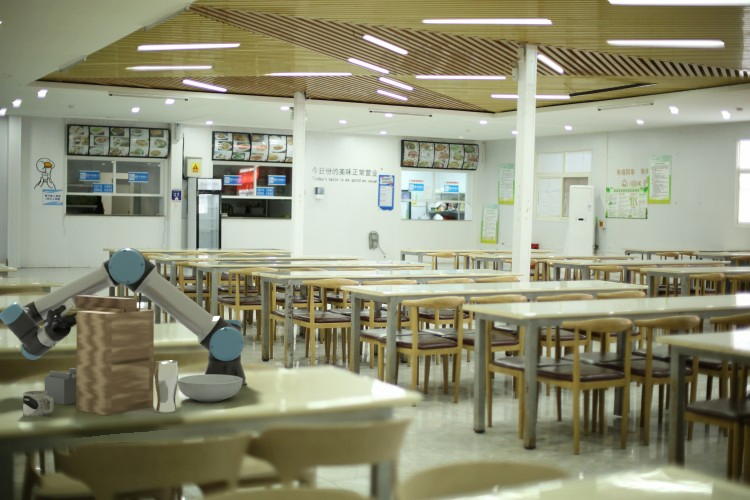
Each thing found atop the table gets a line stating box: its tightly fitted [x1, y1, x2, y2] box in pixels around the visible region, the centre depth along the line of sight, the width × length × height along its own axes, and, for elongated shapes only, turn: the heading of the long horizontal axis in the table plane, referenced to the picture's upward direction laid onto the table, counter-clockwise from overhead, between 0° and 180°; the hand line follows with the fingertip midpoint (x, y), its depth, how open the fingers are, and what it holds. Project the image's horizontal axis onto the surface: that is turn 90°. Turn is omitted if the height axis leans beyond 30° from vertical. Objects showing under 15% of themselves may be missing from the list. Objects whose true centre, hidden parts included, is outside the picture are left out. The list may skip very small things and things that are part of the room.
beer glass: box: [154, 359, 179, 414], centre depth 270 cm, size 7×7×15 cm
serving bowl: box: [177, 374, 243, 403], centre depth 291 cm, size 21×21×7 cm
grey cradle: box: [44, 367, 76, 406], centre depth 287 cm, size 10×12×10 cm
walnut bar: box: [74, 295, 137, 312], centre depth 277 cm, size 24×4×4 cm, turn 56°
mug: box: [22, 390, 55, 418], centre depth 263 cm, size 10×7×7 cm, turn 68°
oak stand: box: [75, 307, 155, 416], centre depth 274 cm, size 14×18×31 cm
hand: (90, 300), depth 280 cm, fingers open, 13 cm apart
